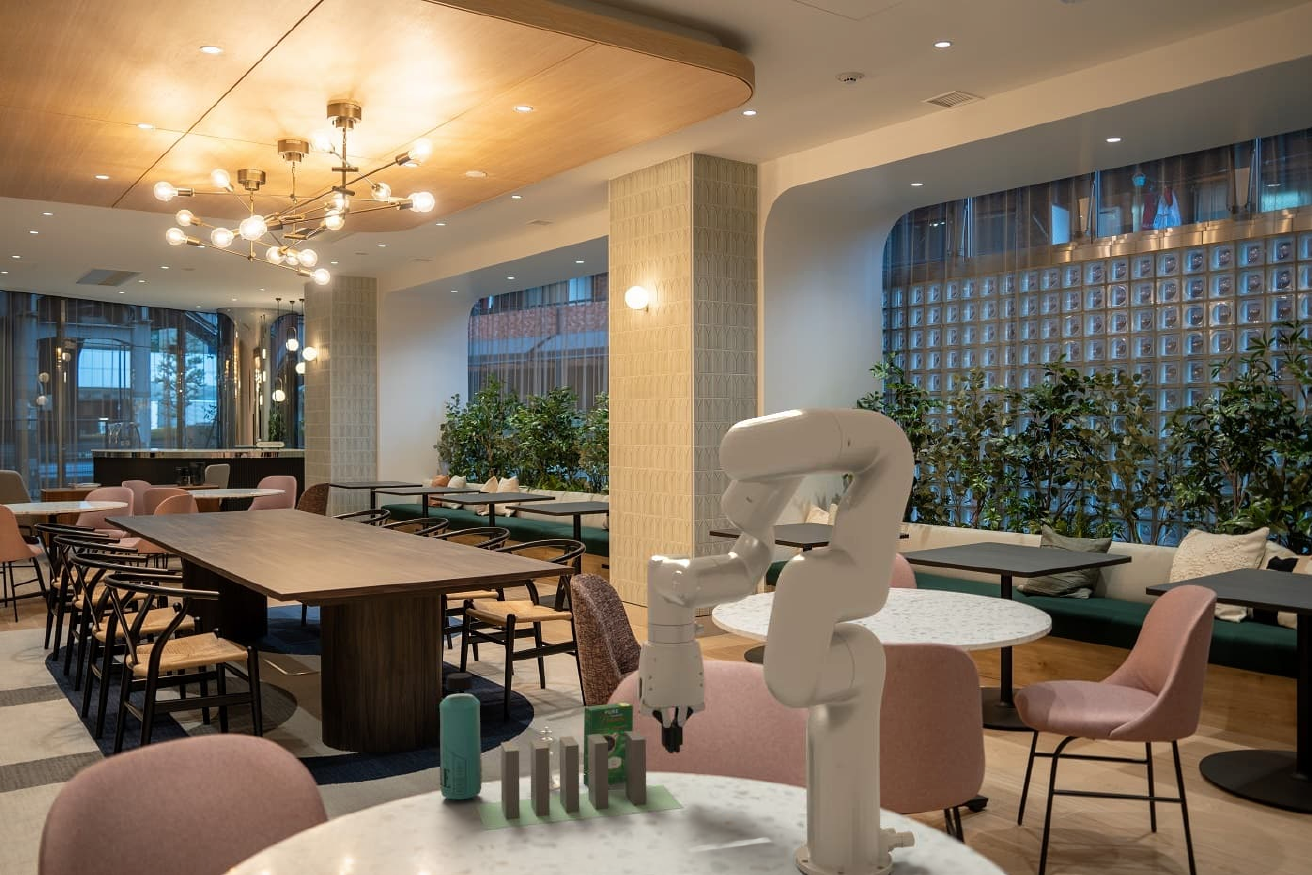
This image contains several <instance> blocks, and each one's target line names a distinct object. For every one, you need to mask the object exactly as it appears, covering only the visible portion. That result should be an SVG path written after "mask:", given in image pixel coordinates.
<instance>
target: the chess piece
mask: <svg viewBox="0 0 1312 875" xmlns="http://www.w3.org/2000/svg"><path fill="white" fill-rule="evenodd" d="M540 732H541V734H540V735H544V737H543V738H541V739H544V741H545V742H546V744H547V745H548V747H549V790H550V791H555V790H558V789H559V790H560V780H559V781H558V780H555V778H554V776H553V773H552V766H551V759H550V758H551V757H554V753H553V751H551V748H552V745H553V743H554V740H553V738H550V737H549V736H551V735H553V731H552V730H549V727H548V726H545V727H544V730H541V731H540Z"/></svg>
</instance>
